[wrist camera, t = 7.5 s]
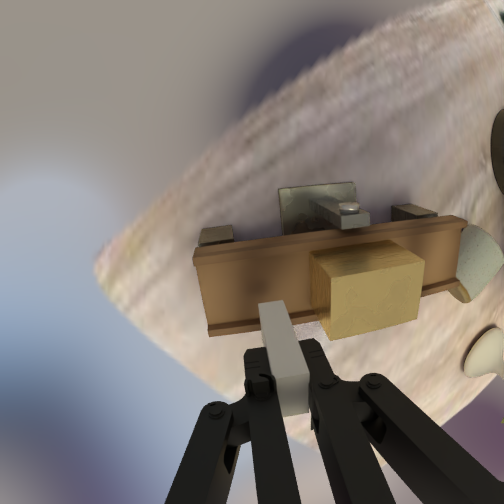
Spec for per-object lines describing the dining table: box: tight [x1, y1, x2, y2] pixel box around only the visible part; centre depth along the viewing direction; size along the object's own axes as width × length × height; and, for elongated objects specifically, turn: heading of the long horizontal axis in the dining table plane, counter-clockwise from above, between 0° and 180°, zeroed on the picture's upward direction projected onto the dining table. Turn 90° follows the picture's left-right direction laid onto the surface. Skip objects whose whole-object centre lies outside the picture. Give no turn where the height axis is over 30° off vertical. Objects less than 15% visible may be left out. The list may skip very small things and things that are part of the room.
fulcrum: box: [198, 182, 438, 247], centre depth 26 cm, size 24×12×9 cm, turn 97°
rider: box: [309, 240, 425, 341], centre depth 20 cm, size 7×5×5 cm, turn 97°
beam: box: [193, 215, 468, 337], centre depth 23 cm, size 24×7×2 cm, turn 96°
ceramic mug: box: [448, 224, 504, 303], centre depth 31 cm, size 11×8×8 cm
